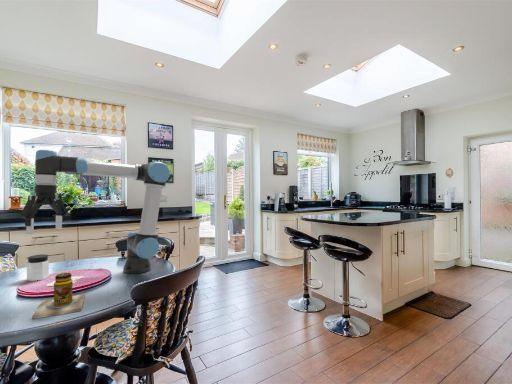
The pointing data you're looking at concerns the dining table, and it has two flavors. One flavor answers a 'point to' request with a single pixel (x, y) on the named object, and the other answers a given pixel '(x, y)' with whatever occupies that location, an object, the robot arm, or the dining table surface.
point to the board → (50, 311)
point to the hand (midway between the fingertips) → (45, 231)
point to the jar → (37, 267)
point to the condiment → (62, 291)
